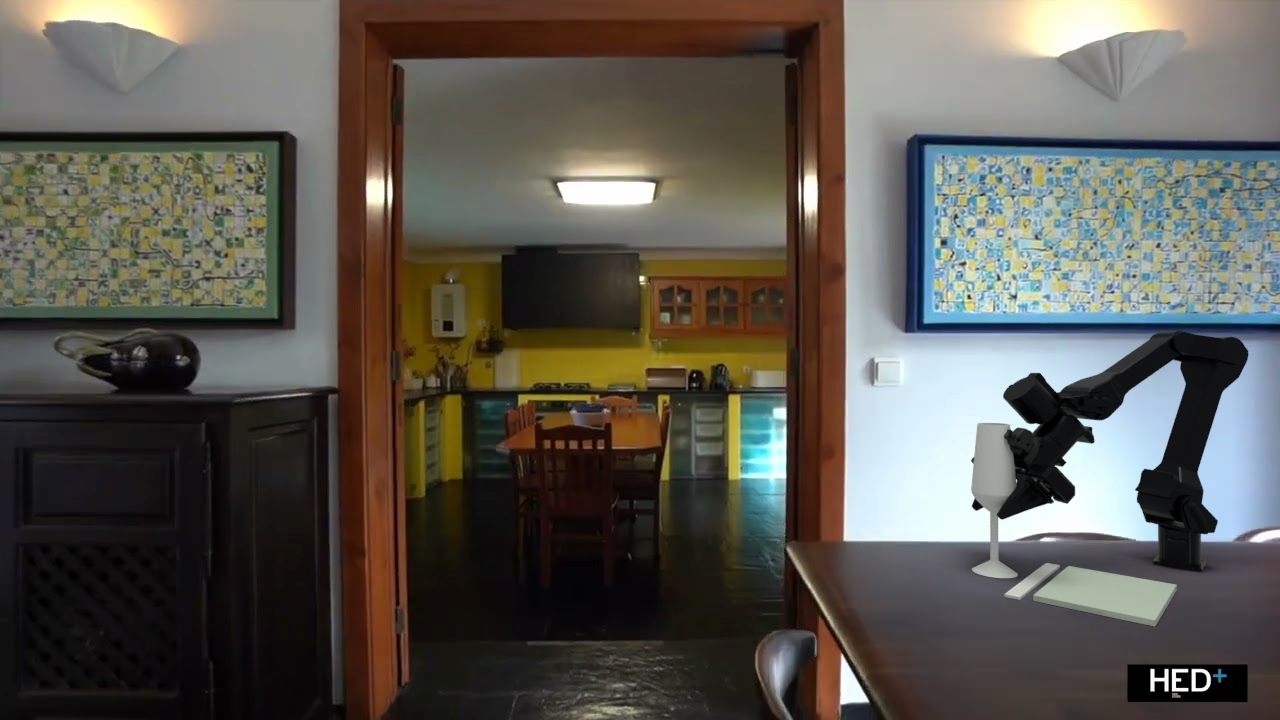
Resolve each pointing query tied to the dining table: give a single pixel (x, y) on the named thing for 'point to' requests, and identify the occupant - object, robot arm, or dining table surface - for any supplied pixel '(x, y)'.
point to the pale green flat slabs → (1099, 593)
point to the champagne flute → (993, 487)
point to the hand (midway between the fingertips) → (986, 513)
